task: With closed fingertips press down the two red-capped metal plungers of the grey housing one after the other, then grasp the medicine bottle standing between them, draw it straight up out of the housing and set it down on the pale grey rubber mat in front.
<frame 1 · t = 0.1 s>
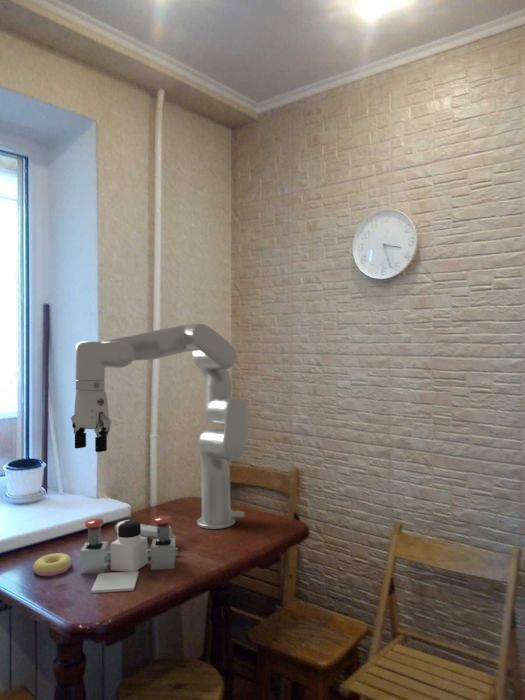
hand: (90, 449, 146), 31 cm above the table, tool pointing down, fingers open, 9 cm apart
mat: (115, 582, 133), on the table
donut: (52, 571, 142), on the table
medicine bottle: (129, 567, 143), on the table
plunger b: (94, 536, 142), point 9 cm above the table, slide at 0.0 cm
housing: (129, 566, 143), on the table
plunger a: (163, 533, 144), point 9 cm above the table, slide at 0.0 cm
grey piece: (144, 542, 163), on the table
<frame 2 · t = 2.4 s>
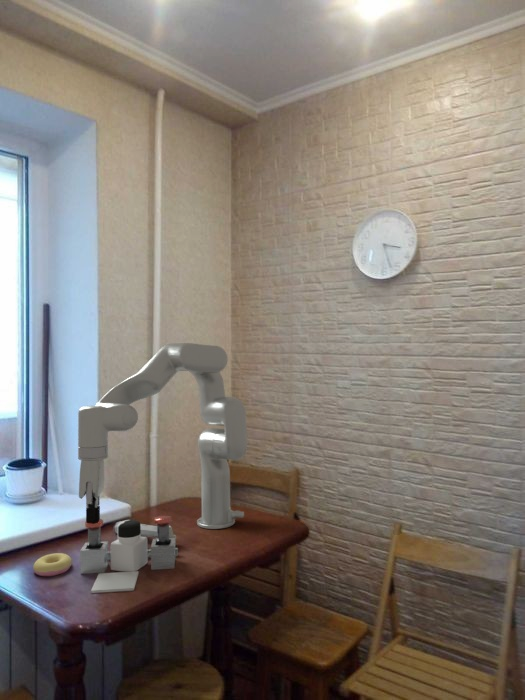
hand: (93, 521, 142), 12 cm above the table, tool pointing down, fingers closed
plunger b: (94, 536, 142), point 8 cm above the table, slide at 0.1 cm, touching gripper
everything else where it was.
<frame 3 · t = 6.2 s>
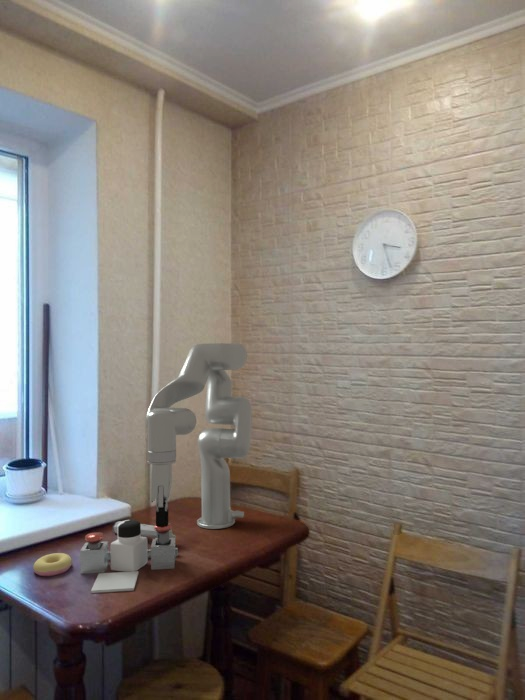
hand: (162, 525, 144), 11 cm above the table, tool pointing down, fingers closed
plunger b: (94, 550, 142), point 5 cm above the table, slide at 3.7 cm
plunger a: (163, 539, 144), point 7 cm above the table, slide at 1.9 cm, touching gripper
everything else where it was.
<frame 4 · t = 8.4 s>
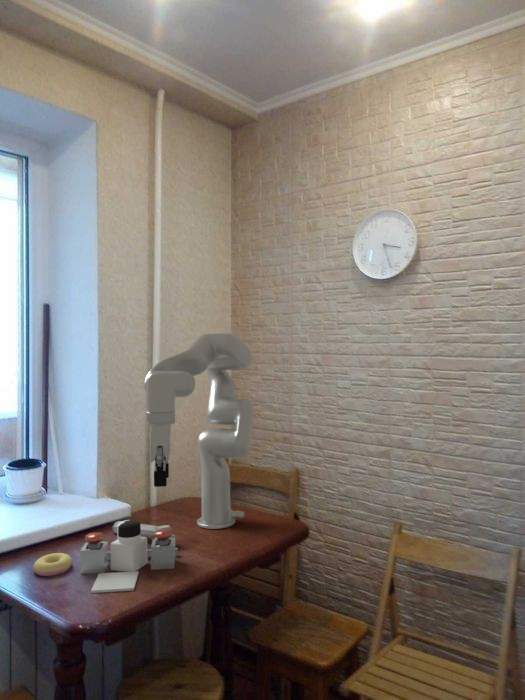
hand: (161, 481, 144), 22 cm above the table, tool pointing down, fingers open, 9 cm apart
plunger a: (163, 546, 144), point 5 cm above the table, slide at 3.7 cm
everything else where it was.
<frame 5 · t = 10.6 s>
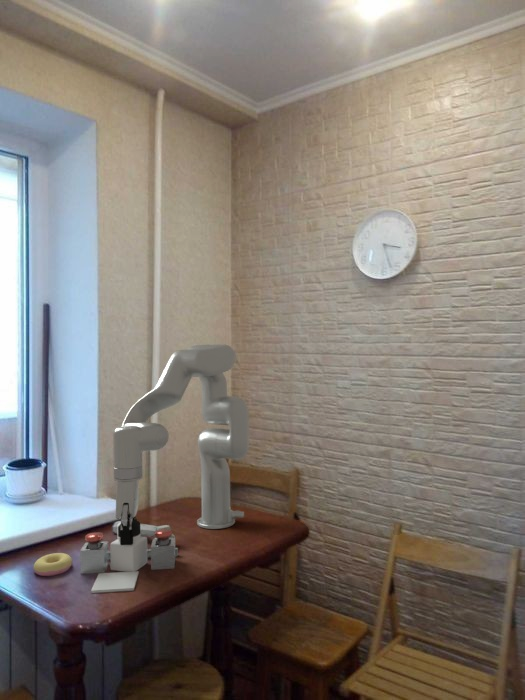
hand: (128, 538, 143), 7 cm above the table, tool pointing down, fingers closed on medicine bottle, 7 cm apart
medicine bottle: (129, 567, 143), on the table, touching gripper
everything else where it was.
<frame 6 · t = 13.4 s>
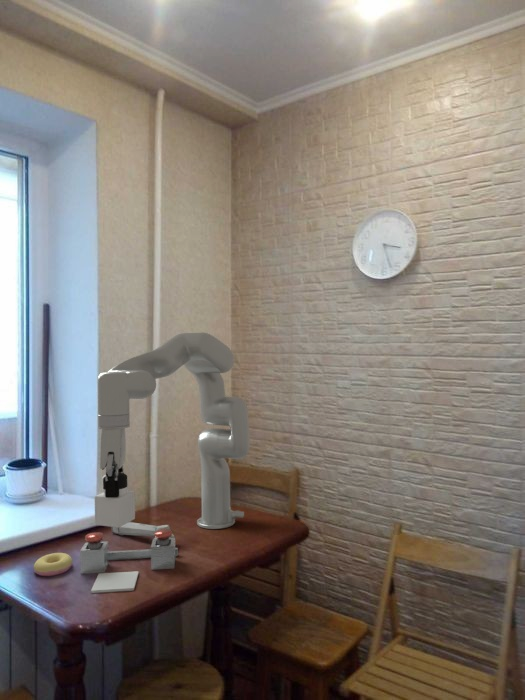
hand: (115, 492, 133), 22 cm above the table, tool pointing down, fingers closed on medicine bottle, 7 cm apart
medicine bottle: (115, 522, 133), point 15 cm above the table, touching gripper
when the fingers open (9 cm above the table, at t = 16.4 s): medicine bottle stays where it is, resting on mat.
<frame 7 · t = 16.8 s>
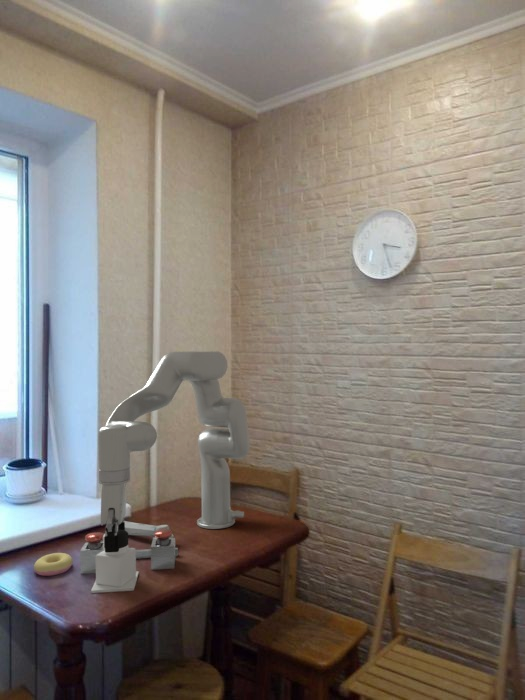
hand: (115, 544, 133), 10 cm above the table, tool pointing down, fingers open, 9 cm apart
medicine bottle: (116, 580, 133), resting on mat
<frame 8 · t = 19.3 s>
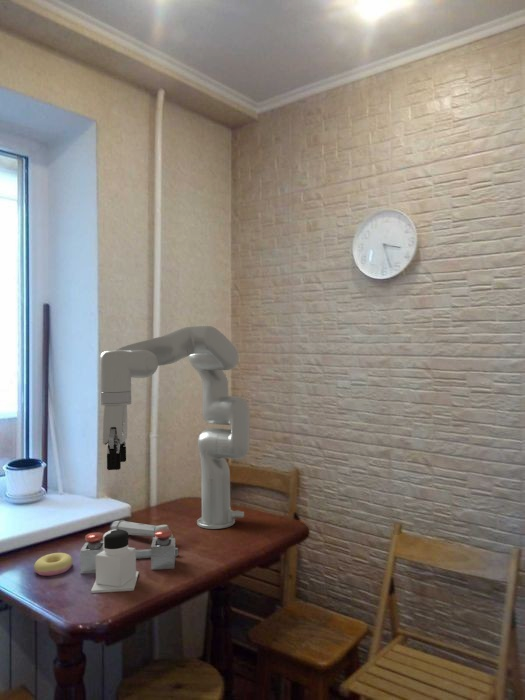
hand: (117, 465, 137), 28 cm above the table, tool pointing down, fingers open, 9 cm apart
at the end: plunger a slide at 3.7 cm; plunger b slide at 3.7 cm; medicine bottle inside the target area on the mat (0.3 cm from its centre), point 0.4 cm above the mat's base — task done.
